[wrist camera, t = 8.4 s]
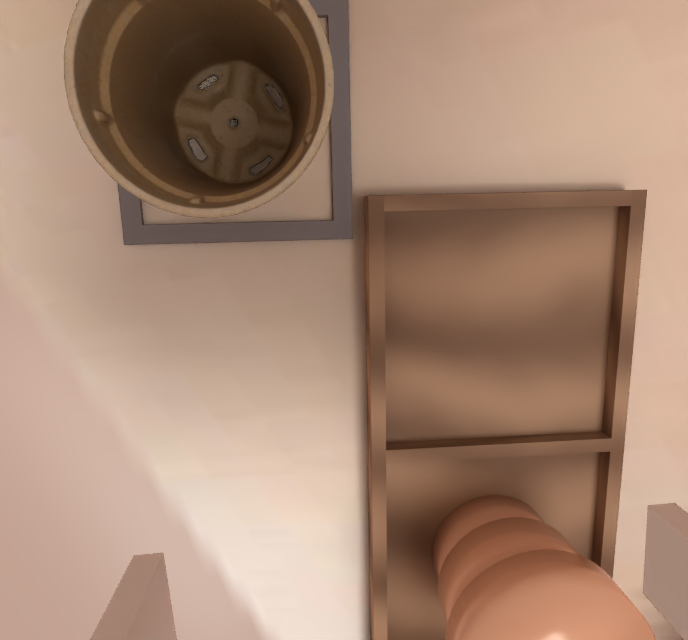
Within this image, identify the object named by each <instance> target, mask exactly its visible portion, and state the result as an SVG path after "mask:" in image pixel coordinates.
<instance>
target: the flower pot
mask: <svg viewBox="0 0 688 640" xmlns="http://www.w3.org/2000/svg"><path fill="white" fill-rule="evenodd" d="M211 76H217V77H218V80H216V81H215V82H213V83H212V84H211V87H210V86H208V87H206V88H204V89H203V90H202V89H200V88H199V87H198V85H200V84H201V83H202V82H203V81H205V80H206V79H207V78H209V77H211ZM64 79H65V87H66V93H67V98H68V103H69V107H70V110H71V113H72V116H73V119H74V121H75V123H76V127H77V129H78V130H79V133H80V135H81V138H82V139H83V141H84V143H85V144H86V146H87V147H88V149H89V151H90V152H91V154H92V155H93V157H94V158H95V159H96V161H97V162H98V163H99V164H100V165H101V166H102V167H103V169H104V170H105V171H106V172H107V173H108V174H109V175H110V177H112V178H113V179H114V180H115V181H116V182H117V183H118V184H120V185H121V186H122V187H123V188H124V189H126V190H127V191H129V192H130V193H132V194H133V195H135V196H136V197H138V198H140V199H141V200H143V201H145V202H147V203H149V204H150V205H153V206H155V207H157V208H160V209H163V210H165V211H168V212H171V213H176V214H180V215H184V216H191V217H201V218H213V217H226V216H231V215H236V214H239V213H243V212H246V211H249V210H251V209H254V208H257V207H259V206H261V205H263V204H265V203H267V202H269V201H270V200H272V199H274V198H275V197H277V196H278V195H280V194H281V193H283V192H284V191H285V190H286V189H287V188H288V187H290V186H291V185H292V184H293V183H294V182H295V181H296V180H297V179H298V178H299V177H300V176H301V175H302V173H303V172H304V171H305V170H306V169H307V167H308V166H309V164H310V163H311V161H312V160H313V158H314V157H315V155H316V153H317V151H318V149H319V148H320V146H321V143H322V141H323V139H324V136H325V133H326V130H327V127H328V124H329V121H330V116H331V112H332V105H333V98H334V70H333V64H332V57H331V53H330V48H329V44H328V41H327V37H326V35H325V32H324V29H323V27H322V25H321V23H320V21H319V19H318V17H317V14H316V12H315V10H314V8H313V7H312V6H311V4H310V2H309V1H308V0H79V2H78V3H77V5H76V9H75V11H74V13H73V15H72V19H71V21H70V25H69V29H68V31H67V39H66V44H65V51H64ZM267 85H271V86H272V87H274V88H275V89H276V90H277V91H278V93H279V95H280V96H281V98H282V101H283V106H282V108H278V107H277V105H276V104H275V102H274V100H273V99H272V97H271V96H270V94H269V93H268V92H267V90H266V89H265V87H266V86H267ZM231 119H237V120H238V126H237V127H233V126H231V125H230V120H231ZM192 138H194V139H196V141H197V142H198V144H199V145H200V147H201V149H202V151H203V152H204V153H205V154H206V155H207V158H206V159H205V160H203V161H200V160H198V159H197V158H196V157H195V155H194V153H193V151H192V148H191V147H190V145H189V139H192ZM268 156H270V157H271V158H272V160H271V161H270V162H269V164H268V165H267V166H266V167H265V168H264V169H263V170H261V171H260V172H259V173H258V174H255V175H254V174H253V173H252V172H250V171H251V167H252V166H253V165H256V164H258V163H260V162H261V161H262V160H264V159H265V158H266V157H268Z"/></svg>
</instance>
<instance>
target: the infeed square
mask: <svg viewBox="0 0 688 640" xmlns="http://www.w3.org/2000/svg"><path fill="white" fill-rule="evenodd" d="M308 1H309V2H310V4H311V6H312V7H313V8H314V10H315V12H316V14H317V17H328V33H329V48H330V53H331V57H332V64H333V70H334V98H333V105H332V112H331V147H332V185H333V220H330V221H288V222H246V223H204V224H162V225H144V223H143V213H142V203H141V199H140V198H138V197H136V196H135V195H133V194H132V193H130V192H129V191H127V190H126V189H124V188H123V187H122V186H121V185H120V184H118V190H119V200H120V209H121V219H122V228H123V238H124V245H141V244H179V243H217V242H255V241H293V240H331V239H353V225H352V173H351V121H350V69H349V17H348V0H308Z"/></svg>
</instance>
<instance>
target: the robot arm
mask: <svg viewBox="0 0 688 640" xmlns="http://www.w3.org/2000/svg"><path fill="white" fill-rule="evenodd" d="M643 594H644V595H645V596H646V597H647V598H648V600H649V601H650V602H651V603H652V604H653V605H654V606H655V608H656V609H657V610H658V611H659V612H660V613H661V614H662V616H663V617H664V618H665V619H666V620H667V621H668V622H669V624H670V625H671V626H672V627H673V628H674V629H675V630H676V632H677V633H678V634H679V635H680V636H681V637H682V638H683V640H688V513H687V512H686V511H684V510H683V509H682V508H681V507H679V506H678V505H677V504H676V503H669V504H659V505H648V512H647V529H646V546H645V563H644V580H643ZM90 640H177V639H176V632H175V625H174V618H173V612H172V605H171V599H170V593H169V586H168V579H167V573H166V566H165V560H164V553H154V554H145V555H134V556H133V558H132V560H131V562H130V564H129V566H128V568H127V570H126V571H125V573H124V575H123V577H122V579H121V581H120V583H119V585H118V587H117V589H116V591H115V593H114V595H113V597H112V599H111V600H110V602H109V604H108V607H107V608H106V610H105V612H104V614H103V616H102V618H101V620H100V622H99V624H98V626H97V628H96V629H95V631H94V633H93V635H92V637H91V639H90Z"/></svg>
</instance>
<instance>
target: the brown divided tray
mask: <svg viewBox="0 0 688 640" xmlns="http://www.w3.org/2000/svg"><path fill="white" fill-rule="evenodd" d="M646 196H647V190H615V191H567V192H519V193H470V194H422V195H374V196H366V197H364V199H365V267H366V336H367V405H368V473H369V542H370V610H371V640H445V636H446V627H447V623H446V621H445V618H444V615H443V612H442V609H441V606H440V603H439V598H438V577H437V574H436V571H435V568H434V565H433V561H432V546H433V541H434V538H435V535H436V532H437V530H438V528H439V527H440V525H441V523H442V522H443V521H444V519H445V518H446V517H447V516H448V515H449V514H450V513H451V512H452V511H453V510H454V509H456V508H457V507H459V506H460V505H462V504H463V503H465V502H467V501H469V500H472V499H475V498H478V497H482V496H488V495H504V496H509V497H513V498H516V499H518V500H521V501H523V502H524V503H526V504H528V505H529V506H530V507H531V508H533V509H534V510H535V511H536V513H537V514H538V515H539V516H540V517H541V519H542V520H543V521H544V523H546V524H548V525H550V526H552V527H553V528H555V529H556V530H557V531H559V532H560V533H561V534H562V535H563V536H564V537H565V538H566V539H567V540H568V542H569V543H570V544H571V545H572V546H573V548H574V549H575V550H576V551H577V553H578V554H579V555H580V556H583V557H585V558H587V559H589V560H591V561H592V562H594V563H596V564H597V565H598V566H599V567H601V568H602V569H603V570H604V571H605V572H606V573H607V574H608V575H609V576H610V577H611V578H612V577H613V565H614V554H615V543H616V532H617V521H618V509H619V498H620V487H621V476H622V465H623V454H624V442H625V431H626V420H627V409H628V398H629V387H630V375H631V364H632V353H633V342H634V331H635V319H636V308H637V297H638V286H639V275H640V264H641V252H642V241H643V230H644V219H645V208H646Z"/></svg>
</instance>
